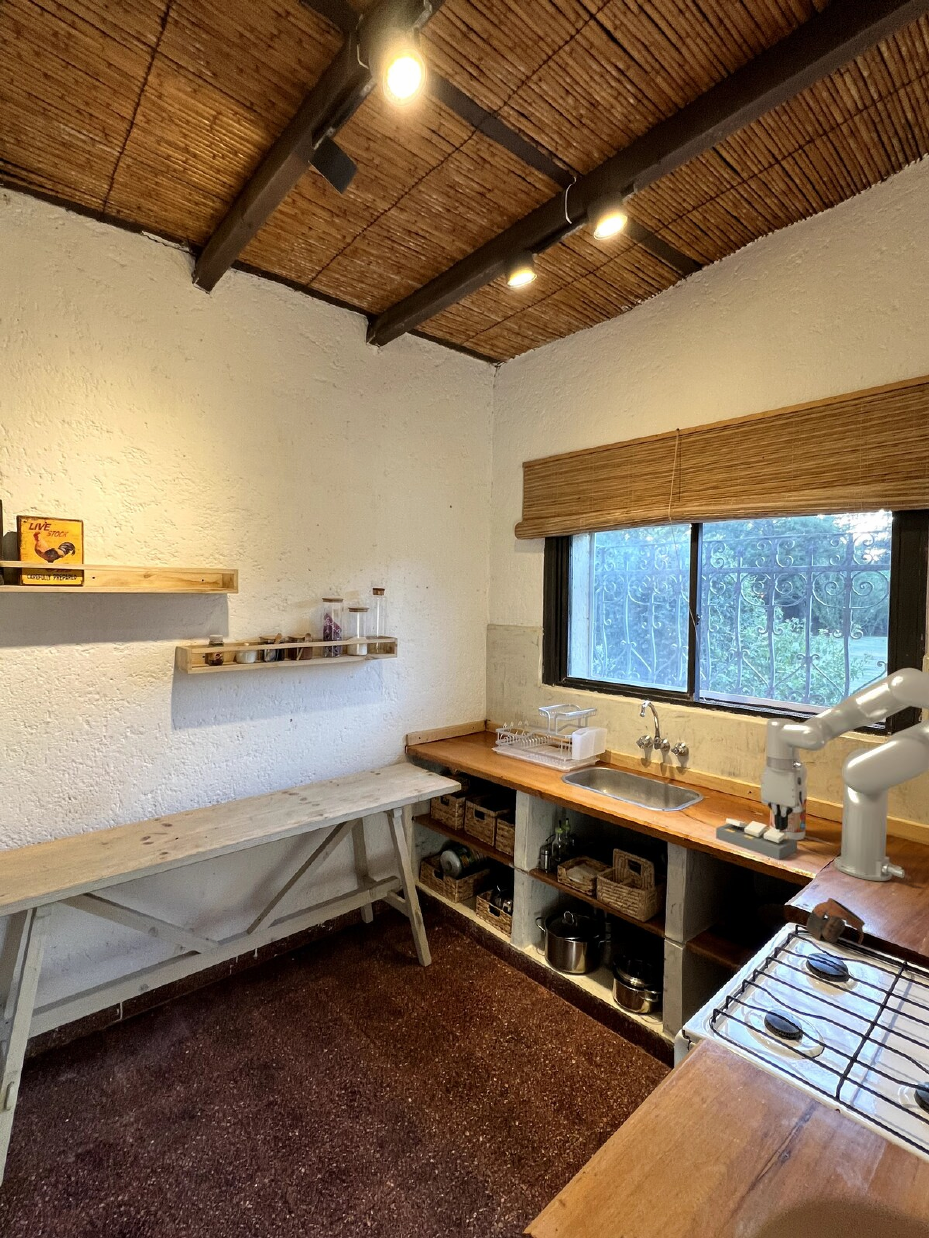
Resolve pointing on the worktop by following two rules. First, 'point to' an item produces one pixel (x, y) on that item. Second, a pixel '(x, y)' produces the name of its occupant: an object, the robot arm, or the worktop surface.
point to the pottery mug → (832, 921)
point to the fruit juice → (795, 819)
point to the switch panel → (756, 842)
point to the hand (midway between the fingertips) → (781, 828)
